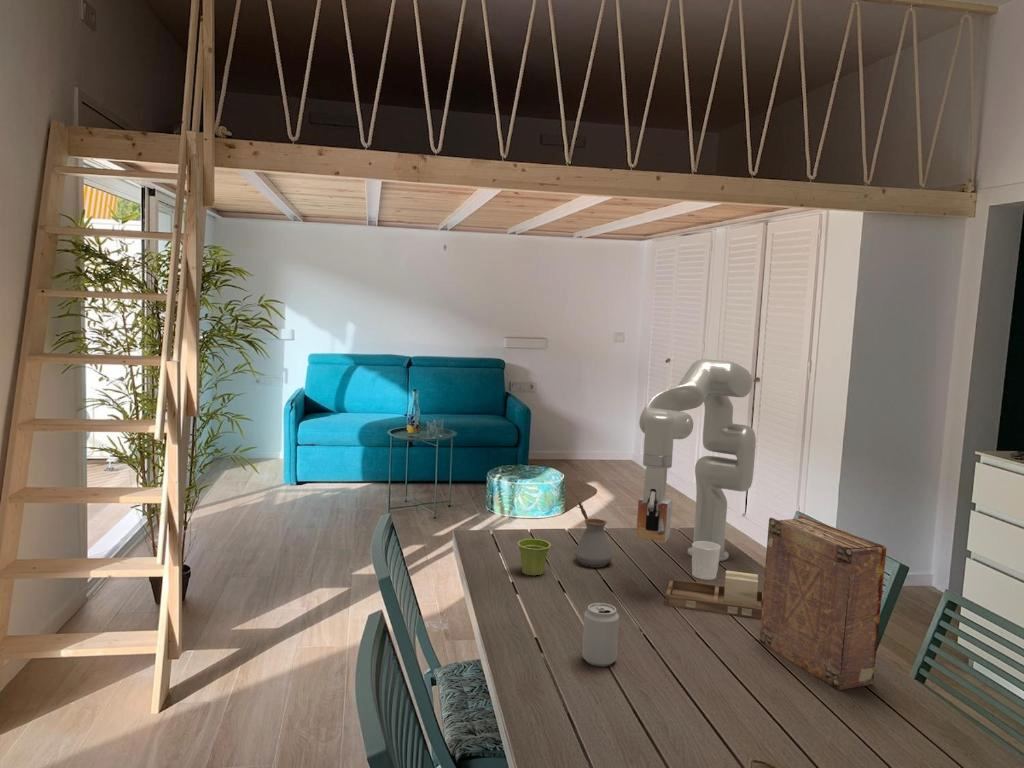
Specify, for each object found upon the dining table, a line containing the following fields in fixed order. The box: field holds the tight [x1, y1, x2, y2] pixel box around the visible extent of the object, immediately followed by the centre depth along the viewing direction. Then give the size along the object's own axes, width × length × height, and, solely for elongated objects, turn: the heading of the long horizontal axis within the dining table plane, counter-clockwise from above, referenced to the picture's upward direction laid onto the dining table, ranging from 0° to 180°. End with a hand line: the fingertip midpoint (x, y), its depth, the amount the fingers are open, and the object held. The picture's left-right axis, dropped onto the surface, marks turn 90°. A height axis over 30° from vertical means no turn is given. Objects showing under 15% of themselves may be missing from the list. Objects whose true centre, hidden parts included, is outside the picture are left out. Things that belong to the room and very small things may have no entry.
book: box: [759, 515, 887, 691], centre depth 177 cm, size 25×9×30 cm, turn 22°
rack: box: [664, 578, 764, 620], centre depth 209 cm, size 14×25×4 cm, turn 74°
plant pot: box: [517, 538, 552, 576], centre depth 229 cm, size 9×9×9 cm
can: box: [581, 602, 620, 667], centre depth 174 cm, size 8×8×12 cm
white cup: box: [691, 541, 720, 581], centre depth 230 cm, size 8×8×10 cm
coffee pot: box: [574, 502, 614, 568], centre depth 244 cm, size 21×12×15 cm, turn 14°
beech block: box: [724, 570, 759, 607], centre depth 207 cm, size 6×8×8 cm
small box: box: [635, 495, 673, 543], centre depth 213 cm, size 8×6×10 cm
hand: (653, 526), depth 213 cm, fingers closed on small box, 5 cm apart
